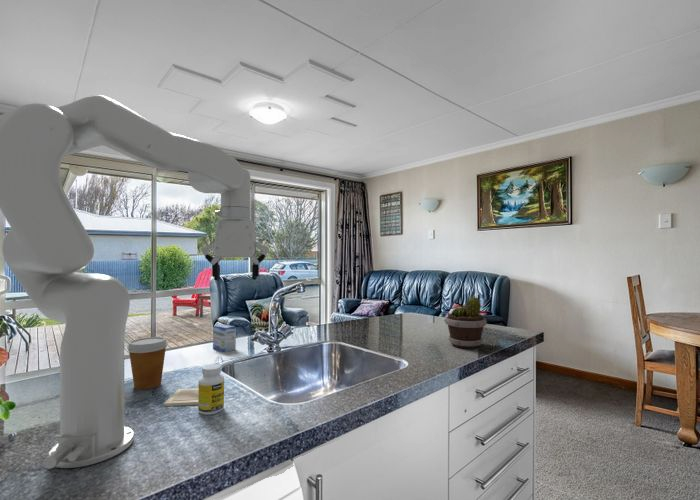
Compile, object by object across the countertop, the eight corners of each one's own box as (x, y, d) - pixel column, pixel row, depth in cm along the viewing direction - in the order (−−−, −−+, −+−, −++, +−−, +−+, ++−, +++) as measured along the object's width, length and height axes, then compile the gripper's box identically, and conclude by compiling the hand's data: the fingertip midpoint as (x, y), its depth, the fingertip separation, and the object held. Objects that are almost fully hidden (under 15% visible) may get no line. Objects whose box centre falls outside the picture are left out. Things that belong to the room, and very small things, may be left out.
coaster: (204, 404, 84) (204, 401, 84) (163, 406, 83) (163, 403, 83) (214, 389, 93) (214, 387, 93) (177, 391, 92) (177, 388, 92)
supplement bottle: (212, 417, 78) (212, 371, 78) (192, 413, 80) (192, 369, 80) (229, 407, 83) (229, 364, 83) (210, 403, 85) (210, 362, 85)
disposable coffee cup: (150, 393, 91) (150, 345, 91) (118, 390, 93) (117, 344, 93) (175, 380, 100) (175, 337, 100) (145, 378, 102) (145, 335, 102)
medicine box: (212, 349, 133) (212, 325, 133) (222, 346, 137) (222, 323, 137) (225, 352, 129) (225, 328, 129) (236, 349, 132) (236, 325, 132)
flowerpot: (437, 345, 136) (436, 292, 136) (458, 339, 146) (458, 289, 146) (473, 353, 125) (472, 295, 125) (493, 345, 136) (493, 292, 136)
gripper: (197, 213, 91) (197, 281, 91) (267, 214, 93) (267, 280, 93) (205, 216, 99) (205, 279, 98) (270, 216, 101) (270, 278, 101)
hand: (235, 279), depth 96 cm, fingers open, 9 cm apart
